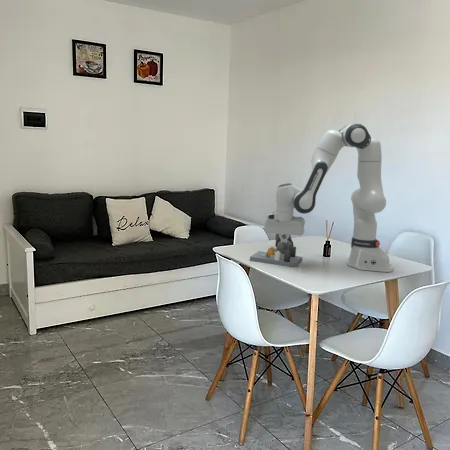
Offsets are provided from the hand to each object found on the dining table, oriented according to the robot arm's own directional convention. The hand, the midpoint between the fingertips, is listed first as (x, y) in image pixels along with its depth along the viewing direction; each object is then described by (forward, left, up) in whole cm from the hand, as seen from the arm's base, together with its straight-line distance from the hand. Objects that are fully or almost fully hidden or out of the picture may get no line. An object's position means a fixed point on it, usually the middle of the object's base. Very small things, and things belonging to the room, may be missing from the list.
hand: (283, 242), depth 234 cm
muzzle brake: (+5, -19, -10) cm, 22 cm away
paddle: (+6, +1, -8) cm, 10 cm away
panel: (+3, +1, -10) cm, 10 cm away
